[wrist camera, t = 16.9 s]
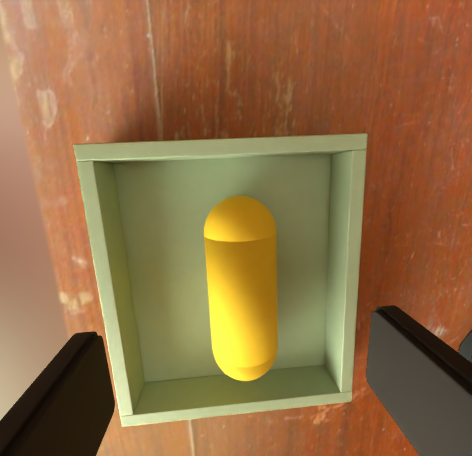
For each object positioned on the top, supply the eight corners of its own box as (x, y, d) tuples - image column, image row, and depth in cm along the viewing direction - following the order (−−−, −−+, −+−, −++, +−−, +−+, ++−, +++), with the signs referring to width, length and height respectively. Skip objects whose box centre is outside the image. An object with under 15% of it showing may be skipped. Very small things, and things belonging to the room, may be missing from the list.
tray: (102, 150, 15) (72, 143, 12) (337, 141, 16) (368, 133, 13) (137, 383, 19) (121, 427, 15) (329, 364, 20) (351, 401, 16)
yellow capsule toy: (195, 195, 15) (211, 202, 11) (257, 191, 16) (290, 195, 12) (207, 358, 17) (224, 408, 13) (261, 343, 18) (290, 385, 15)
